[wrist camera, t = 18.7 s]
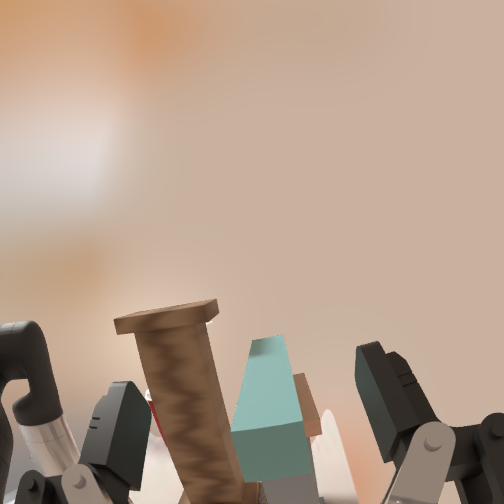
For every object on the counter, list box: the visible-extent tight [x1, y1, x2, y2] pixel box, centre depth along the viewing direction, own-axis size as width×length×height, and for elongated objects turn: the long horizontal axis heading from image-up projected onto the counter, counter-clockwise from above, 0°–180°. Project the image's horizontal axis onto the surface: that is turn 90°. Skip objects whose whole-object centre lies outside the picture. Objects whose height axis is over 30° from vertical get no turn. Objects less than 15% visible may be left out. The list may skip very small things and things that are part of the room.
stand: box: [114, 299, 260, 504], centre depth 37 cm, size 12×8×32 cm, turn 87°
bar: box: [230, 335, 312, 483], centre depth 27 cm, size 4×24×4 cm, turn 177°
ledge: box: [262, 373, 325, 504], centre depth 27 cm, size 7×12×22 cm, turn 177°
